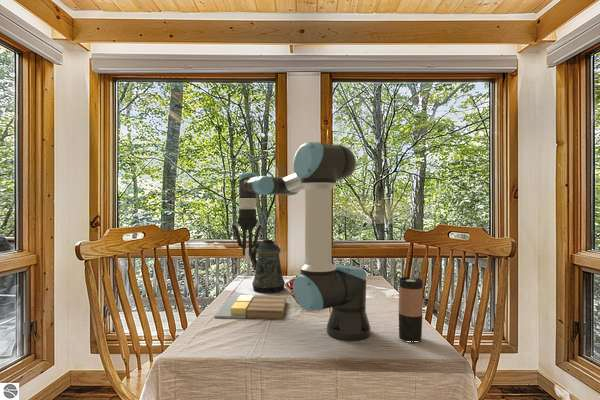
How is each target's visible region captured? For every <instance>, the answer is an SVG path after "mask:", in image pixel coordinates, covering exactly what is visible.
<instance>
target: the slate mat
mask: <svg viewBox="0 0 600 400" xmlns="http://www.w3.org/2000/svg"><path fill="white" fill-rule="evenodd" d="M237 299H238V298H237ZM237 299H235V298H234V299H233V298H232V299H231V298H230V299H229V298H228V299H227V300H226V301H225V303H223V305H222V306H221V307H220V309H219V310H218V311H217V312H216V313H215V315H214V319H235V320H237V319H241V320H242V319H244V320H245V319H247V314H246V315H231V307H232V306H233V304H234V303H235V302H236V300H237Z"/></svg>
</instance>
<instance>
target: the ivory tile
mask: <svg viewBox="0 0 600 400" xmlns="http://www.w3.org/2000/svg"><path fill="white" fill-rule="evenodd" d="M254 296H255V295H253V294H251V295H250V294H240V295H239V296H238V298H237V300H236V302H250V304H251V302H252V300H253V298H254Z"/></svg>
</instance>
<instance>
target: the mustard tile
mask: <svg viewBox="0 0 600 400" xmlns="http://www.w3.org/2000/svg"><path fill="white" fill-rule="evenodd" d="M249 305H250V302H235V303H234V304H233V306H232V307H231V315H246V314H247V309H248V307H249Z"/></svg>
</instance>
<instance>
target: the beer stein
mask: <svg viewBox="0 0 600 400" xmlns="http://www.w3.org/2000/svg"><path fill="white" fill-rule="evenodd" d="M281 250H282V249H281V247H279V245H277V244H276V243H275V242H274V240H273V239H263V240H262V241H261V242H258V241H257V244H256V246H255V247H253V248H252V255H251V256H250V263H251V264H252V267H253V269H254V270H255V271H254V272H255V273H254V277H253V281H252V289H253V290H252V291H254V292H256V293H261V294H276V292H277V293H281V292H283V291H282V290H285V284H286V283H285V280H284V276H283V272H282V267H281V266H282V265H281V259H280V257H281V256H280V254H281ZM280 291H281V292H280Z"/></svg>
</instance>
